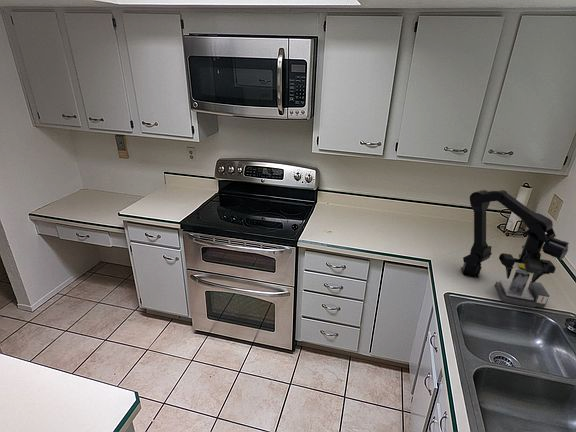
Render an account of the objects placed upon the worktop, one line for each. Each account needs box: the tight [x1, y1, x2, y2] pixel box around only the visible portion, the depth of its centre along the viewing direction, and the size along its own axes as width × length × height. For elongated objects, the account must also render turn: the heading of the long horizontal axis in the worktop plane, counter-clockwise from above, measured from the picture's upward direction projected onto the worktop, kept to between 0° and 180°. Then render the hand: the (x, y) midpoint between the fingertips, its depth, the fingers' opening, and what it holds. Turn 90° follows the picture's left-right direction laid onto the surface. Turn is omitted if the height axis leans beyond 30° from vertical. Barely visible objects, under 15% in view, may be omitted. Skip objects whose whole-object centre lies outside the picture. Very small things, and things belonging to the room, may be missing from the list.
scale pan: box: [499, 279, 534, 300], centre depth 148 cm, size 10×10×1 cm
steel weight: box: [510, 268, 531, 292], centre depth 146 cm, size 5×5×8 cm
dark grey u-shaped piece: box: [494, 280, 550, 309], centre depth 148 cm, size 16×12×6 cm
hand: (519, 280), depth 146 cm, fingers open, 9 cm apart
